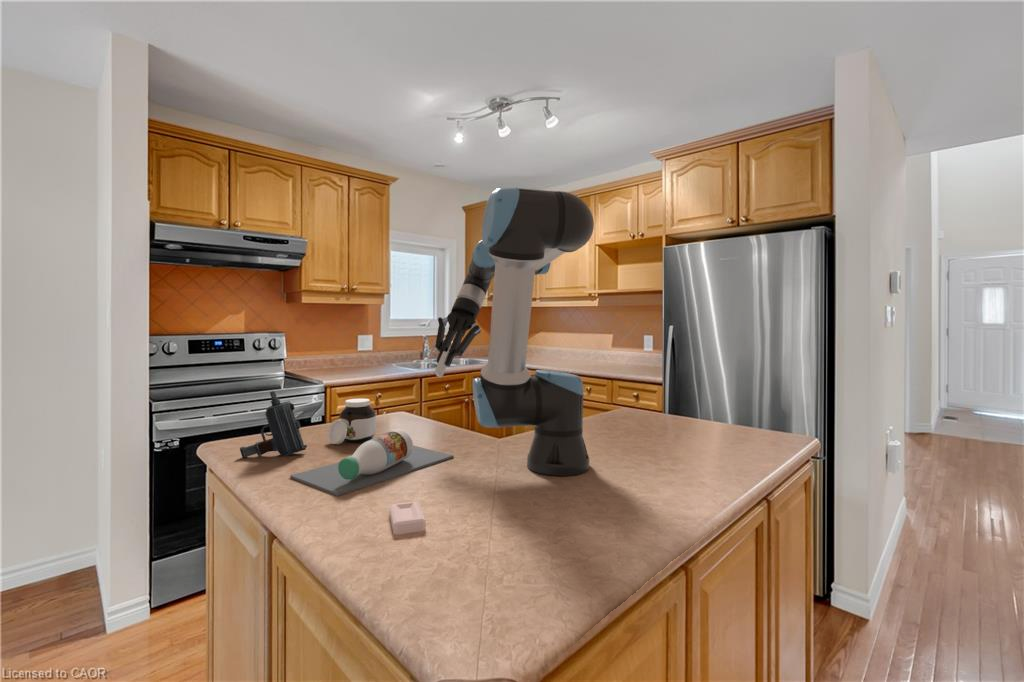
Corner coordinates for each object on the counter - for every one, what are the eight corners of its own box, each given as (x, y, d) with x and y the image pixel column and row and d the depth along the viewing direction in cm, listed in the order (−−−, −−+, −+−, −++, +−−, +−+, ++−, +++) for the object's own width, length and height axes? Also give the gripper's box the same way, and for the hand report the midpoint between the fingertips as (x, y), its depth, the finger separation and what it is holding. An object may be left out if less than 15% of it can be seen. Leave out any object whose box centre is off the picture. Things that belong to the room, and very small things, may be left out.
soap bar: (418, 512, 94) (418, 500, 94) (426, 533, 86) (425, 519, 86) (389, 516, 93) (389, 503, 92) (393, 537, 84) (393, 523, 84)
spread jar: (380, 437, 148) (379, 398, 148) (362, 447, 137) (361, 405, 137) (342, 435, 151) (342, 397, 150) (322, 445, 139) (321, 404, 139)
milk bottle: (410, 463, 124) (356, 492, 105) (385, 452, 126) (328, 479, 108) (416, 434, 122) (363, 459, 104) (391, 424, 125) (334, 446, 106)
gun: (227, 403, 127) (288, 386, 130) (248, 465, 129) (307, 446, 132) (224, 405, 124) (287, 388, 128) (245, 468, 126) (306, 449, 130)
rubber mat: (406, 445, 139) (406, 443, 139) (453, 457, 128) (453, 455, 128) (290, 477, 112) (290, 475, 112) (337, 496, 101) (337, 493, 101)
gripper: (491, 314, 146) (463, 386, 136) (451, 306, 150) (420, 375, 139) (486, 300, 140) (456, 373, 129) (444, 292, 143) (412, 363, 133)
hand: (438, 374), depth 134 cm, fingers closed
